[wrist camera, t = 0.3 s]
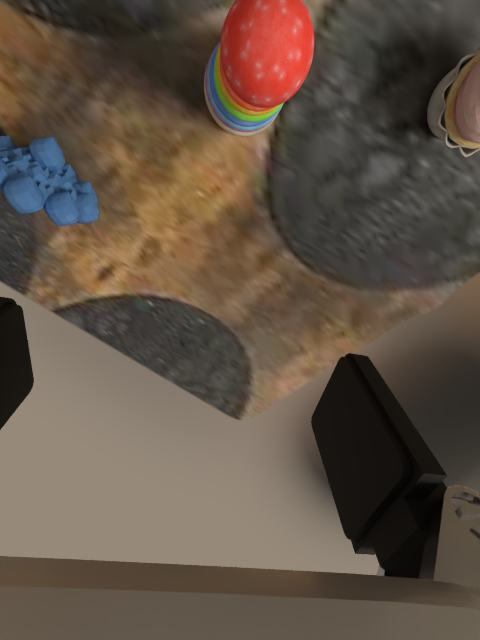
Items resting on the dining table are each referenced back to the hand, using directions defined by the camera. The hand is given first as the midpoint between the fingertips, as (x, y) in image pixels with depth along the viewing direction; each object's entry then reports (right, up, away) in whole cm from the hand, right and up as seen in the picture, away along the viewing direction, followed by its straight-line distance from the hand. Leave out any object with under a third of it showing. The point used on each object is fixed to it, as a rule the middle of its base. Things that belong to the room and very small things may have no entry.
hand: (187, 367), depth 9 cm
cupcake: (+24, +24, +23) cm, 41 cm away
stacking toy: (+2, +25, +21) cm, 33 cm away
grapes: (-17, +18, +24) cm, 35 cm away
